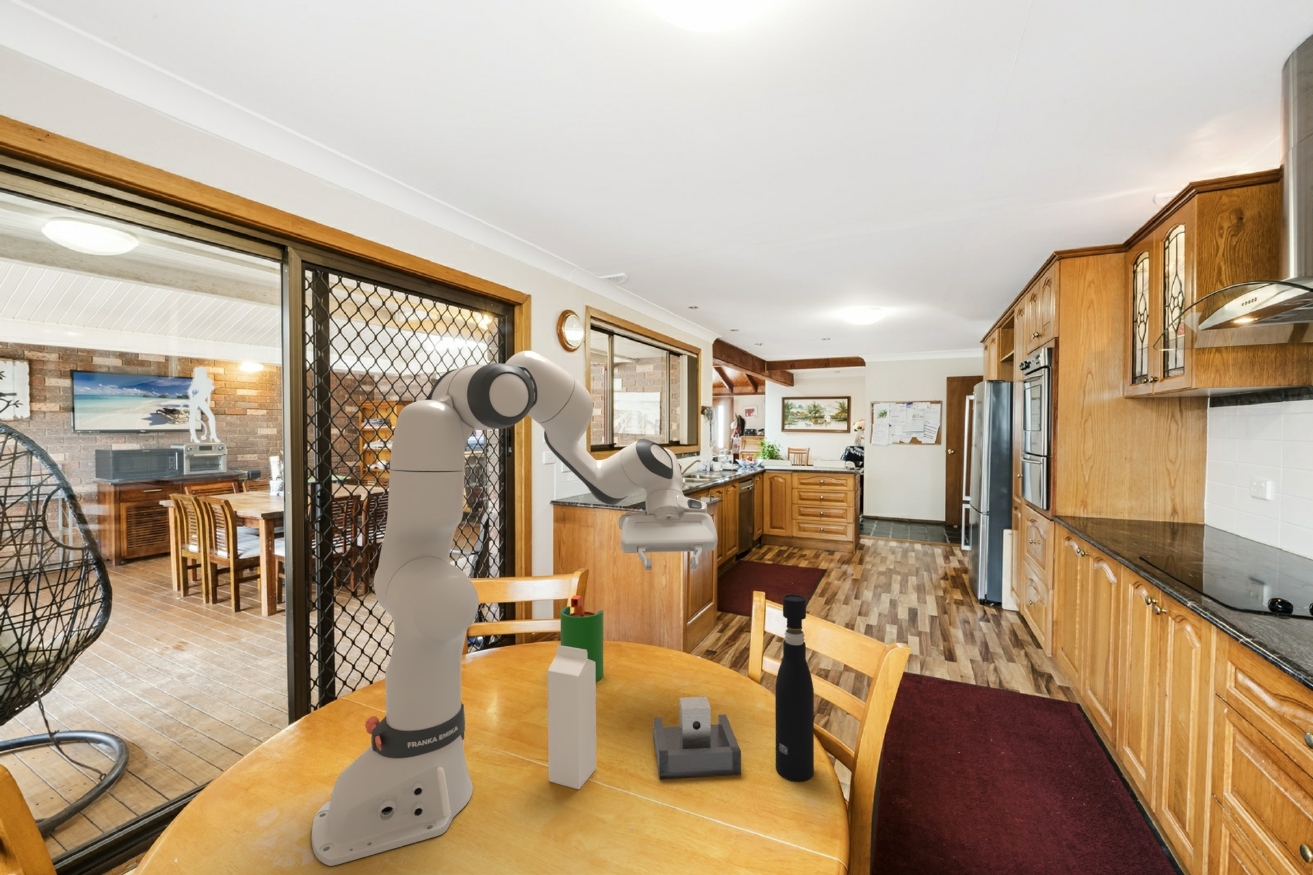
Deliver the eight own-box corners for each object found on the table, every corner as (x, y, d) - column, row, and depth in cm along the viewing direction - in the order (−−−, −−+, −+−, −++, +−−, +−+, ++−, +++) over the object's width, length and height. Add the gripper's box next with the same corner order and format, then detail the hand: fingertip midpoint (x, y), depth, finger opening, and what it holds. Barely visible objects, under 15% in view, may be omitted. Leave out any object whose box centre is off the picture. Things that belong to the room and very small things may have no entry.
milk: (566, 761, 96) (565, 638, 96) (597, 769, 94) (596, 643, 94) (547, 782, 90) (546, 651, 90) (579, 790, 88) (578, 656, 88)
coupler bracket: (652, 732, 105) (652, 712, 105) (723, 729, 106) (723, 709, 106) (659, 779, 91) (659, 756, 91) (740, 774, 92) (740, 751, 92)
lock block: (679, 746, 99) (679, 697, 99) (706, 745, 99) (706, 696, 99) (682, 760, 95) (682, 709, 94) (710, 758, 95) (710, 708, 95)
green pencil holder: (606, 669, 133) (605, 588, 132) (598, 686, 124) (598, 600, 124) (565, 667, 134) (565, 587, 133) (555, 684, 125) (554, 599, 125)
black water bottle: (813, 761, 96) (813, 593, 95) (813, 785, 89) (814, 605, 89) (776, 756, 97) (776, 590, 97) (774, 778, 91) (774, 602, 91)
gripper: (618, 504, 115) (619, 561, 105) (713, 502, 116) (723, 558, 107) (618, 521, 119) (619, 577, 110) (709, 519, 121) (718, 574, 111)
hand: (671, 568), depth 108 cm, fingers open, 8 cm apart
